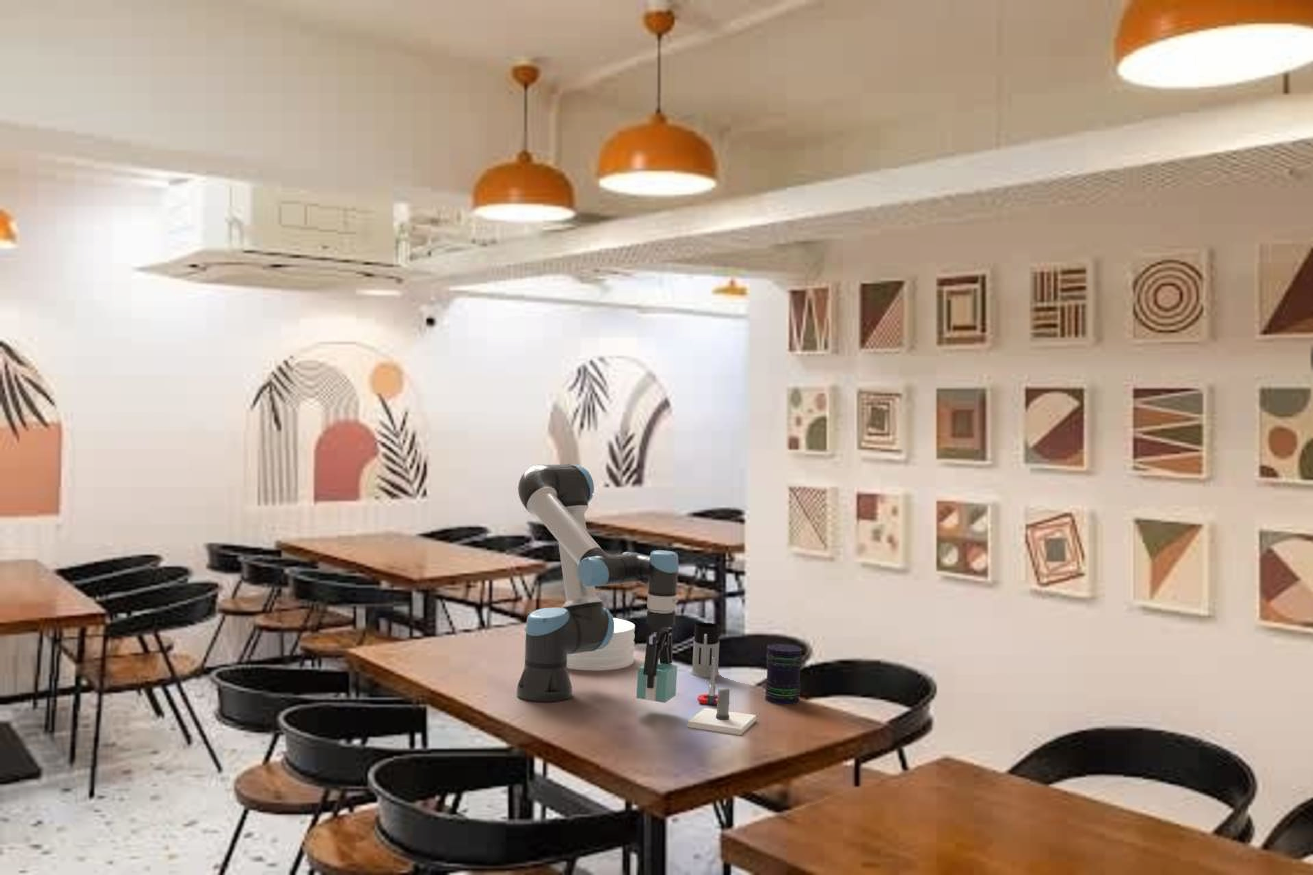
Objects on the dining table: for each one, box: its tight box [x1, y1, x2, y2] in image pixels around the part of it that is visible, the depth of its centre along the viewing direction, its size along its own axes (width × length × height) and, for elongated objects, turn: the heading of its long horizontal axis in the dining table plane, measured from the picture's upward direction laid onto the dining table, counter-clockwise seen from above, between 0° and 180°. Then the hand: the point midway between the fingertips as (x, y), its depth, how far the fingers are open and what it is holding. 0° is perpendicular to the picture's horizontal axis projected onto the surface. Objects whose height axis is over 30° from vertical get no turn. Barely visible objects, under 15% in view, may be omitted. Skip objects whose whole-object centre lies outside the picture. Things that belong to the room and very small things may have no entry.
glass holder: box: [690, 622, 720, 678], centre depth 328 cm, size 9×14×15 cm, turn 174°
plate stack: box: [567, 617, 636, 671], centre depth 342 cm, size 28×28×12 cm
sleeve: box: [635, 662, 678, 704], centre depth 284 cm, size 8×8×8 cm
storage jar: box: [764, 643, 803, 706], centre depth 304 cm, size 10×10×15 cm
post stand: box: [687, 687, 757, 736], centre depth 278 cm, size 14×14×9 cm
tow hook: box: [697, 658, 718, 706], centre depth 300 cm, size 8×13×9 cm
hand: (656, 695), depth 284 cm, fingers closed on sleeve, 8 cm apart
